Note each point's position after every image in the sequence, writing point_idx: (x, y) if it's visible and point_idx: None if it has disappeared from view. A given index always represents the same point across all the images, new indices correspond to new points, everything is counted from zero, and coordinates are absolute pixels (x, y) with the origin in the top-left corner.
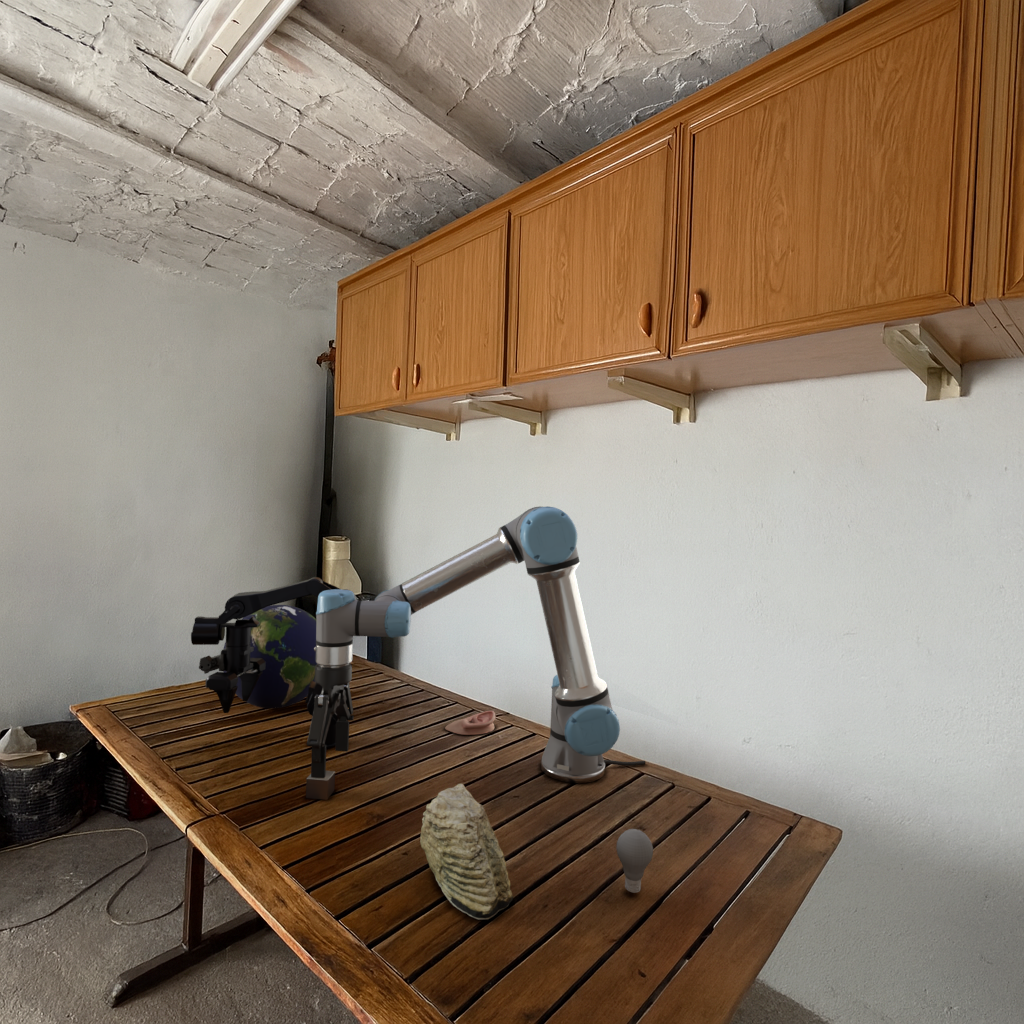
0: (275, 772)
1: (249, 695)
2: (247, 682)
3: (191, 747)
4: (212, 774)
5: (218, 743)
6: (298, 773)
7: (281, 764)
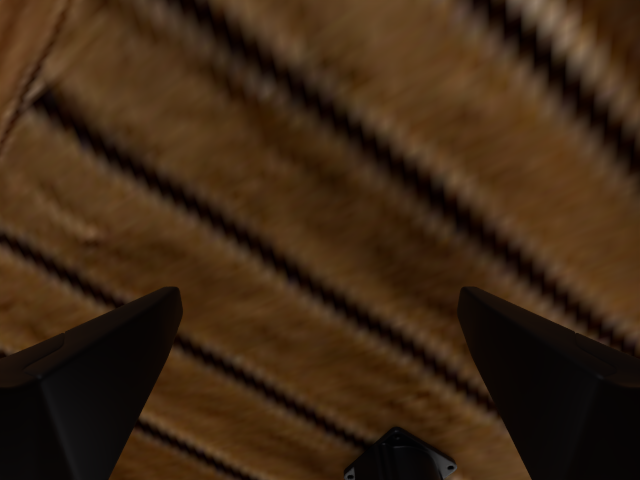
0: (157, 417)
1: (479, 357)
2: (562, 436)
3: (271, 10)
4: (65, 258)
5: (343, 119)
6: (173, 466)
7: (214, 412)
